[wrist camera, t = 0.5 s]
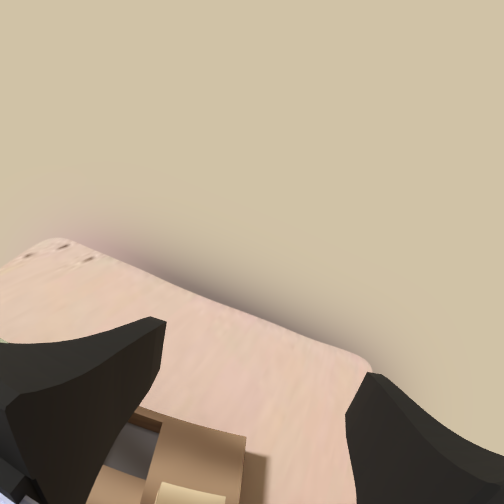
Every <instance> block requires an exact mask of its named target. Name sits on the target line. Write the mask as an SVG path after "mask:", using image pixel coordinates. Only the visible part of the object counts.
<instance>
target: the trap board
mask: <svg viewBox="0 0 504 504" xmlns="http://www.w3.org/2000/svg"><path fill="white" fill-rule="evenodd" d="M0 342H1V343H8V342H6V341H4V340H3V339H1V338H0ZM245 446H246V437H245V436H240V435H235V434H231V433H227V432H223V431H219V430H215V429H211V428H207V427H203V426H200V425H196V424H192V423H189V422H186V421H182V420H179V419H176V418H172V417H169V416H166V415H163V414H160V413H157V412H154V411H151V410H148V409H146V408H143V407H140V406H138V407H137V409H136V410H135V412H134V413H133V414H132V416H131V417H130V419H129V420H128V422H127V423H126V424H125V426H124V427H123V429H122V430H121V432H120V433H119V435H118V437H117V438H116V440H115V442H114V444H113V446H112V447H111V449H110V451H109V453H108V455H107V457H106V459H105V461H104V463H103V466H102V468H101V470H100V472H99V474H98V476H97V478H96V480H95V483H94V485H93V487H92V490H91V492H90V494H89V497H88V499H87V502H86V504H155V501H156V497H157V493H158V490H159V488H160V486H161V483H162V482H165V483H169V484H172V485H176V486H180V487H184V488H188V489H192V490H196V491H200V492H205V493H210V494H215V495H220V496H225V497H226V499H225V504H239V499H240V491H241V482H242V473H243V464H244V455H245Z"/></svg>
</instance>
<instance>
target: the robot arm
mask: <svg viewBox="0 0 504 504" xmlns="http://www.w3.org/2000/svg"><path fill="white" fill-rule="evenodd" d="M166 323H167V322H166V321H163V320H160V319H157V318H154V317H151V316H150V317H146V318H143V319H140V320H137V321H135V322H132V323H129V324H126V325H123V326H121V327H118V328H115V329H112V330H109V331H105V332H102V333H98V334H95V335H91V336H87V337H83V338H79V339H74V340H68V341H61V342H53V343H36V344H14V343H1V342H0V504H86V502H87V499H88V497H89V494H90V492H91V490H92V487H93V485H94V483H95V480H96V478H97V476H98V474H99V472H100V470H101V468H102V466H103V463H104V461H105V459H106V457H107V455H108V453H109V451H110V449H111V447H112V446H113V444H114V442H115V440H116V438H117V437H118V435H119V433H120V432H121V430H122V429H123V427H124V426H125V424H126V423H127V422H128V420H129V419H130V417H131V416H132V414H133V413H134V412H135V410H136V409H137V407H138V406H139V404H140V403H141V402H142V400H143V399H144V397H145V396H146V394H147V393H148V391H149V390H150V388H151V386H152V384H153V382H154V380H155V378H156V376H157V374H158V372H159V370H160V364H161V357H162V349H163V342H164V336H165V329H166ZM345 422H346V438H347V444H348V449H349V454H350V459H351V465H352V470H353V475H354V480H355V487H356V497H357V504H504V456H502V455H499V454H496V453H494V452H491V451H489V450H486V449H484V448H482V447H480V446H478V445H476V444H473V443H472V442H470V441H468V440H466V439H464V438H462V437H461V436H459V435H457V434H456V433H454V432H453V431H451V430H450V429H448V428H447V427H445V426H444V425H442V424H441V423H440V422H438V421H437V420H436V419H434V418H433V417H432V416H431V415H429V414H428V413H427V412H426V411H424V410H423V409H422V408H421V407H420V406H419V405H417V404H416V403H415V402H414V401H413V400H412V399H410V398H409V397H408V396H407V395H406V394H405V393H404V392H403V391H402V390H401V389H399V388H398V387H397V386H396V385H395V384H393V383H392V382H391V381H390V380H389V379H388V378H386V377H385V376H383V375H382V374H375V373H370V372H367V373H366V375H365V377H364V379H363V381H362V383H361V385H360V387H359V389H358V391H357V393H356V395H355V397H354V399H353V401H352V403H351V404H350V406H349V408H348V410H347V412H346V414H345Z"/></svg>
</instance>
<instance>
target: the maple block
mask: <svg viewBox="0 0 504 504" xmlns="http://www.w3.org/2000/svg"><path fill="white" fill-rule="evenodd" d="M225 499H226V497H225V496H220V495H215V494H210V493H205V492H200V491H196V490H192V489H188V488H184V487H180V486H176V485H172V484H169V483H165V482H162V483H161V486H160V488H159V490H158V493H157V497H156V501H155V504H225Z"/></svg>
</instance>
